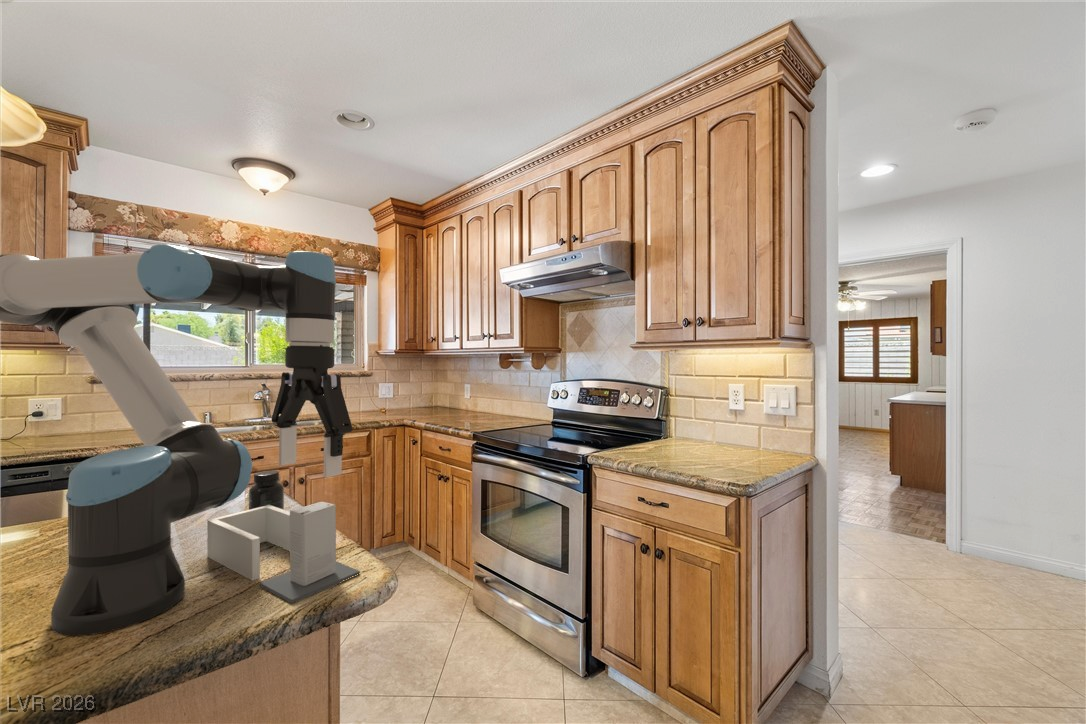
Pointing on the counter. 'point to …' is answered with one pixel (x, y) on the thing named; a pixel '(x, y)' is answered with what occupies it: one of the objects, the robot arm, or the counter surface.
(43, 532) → the counter surface
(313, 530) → the skincare box
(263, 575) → the counter surface
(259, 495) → the supplement bottle
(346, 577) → the mat
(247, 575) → the white u-shaped frame
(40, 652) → the counter surface
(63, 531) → the counter surface
